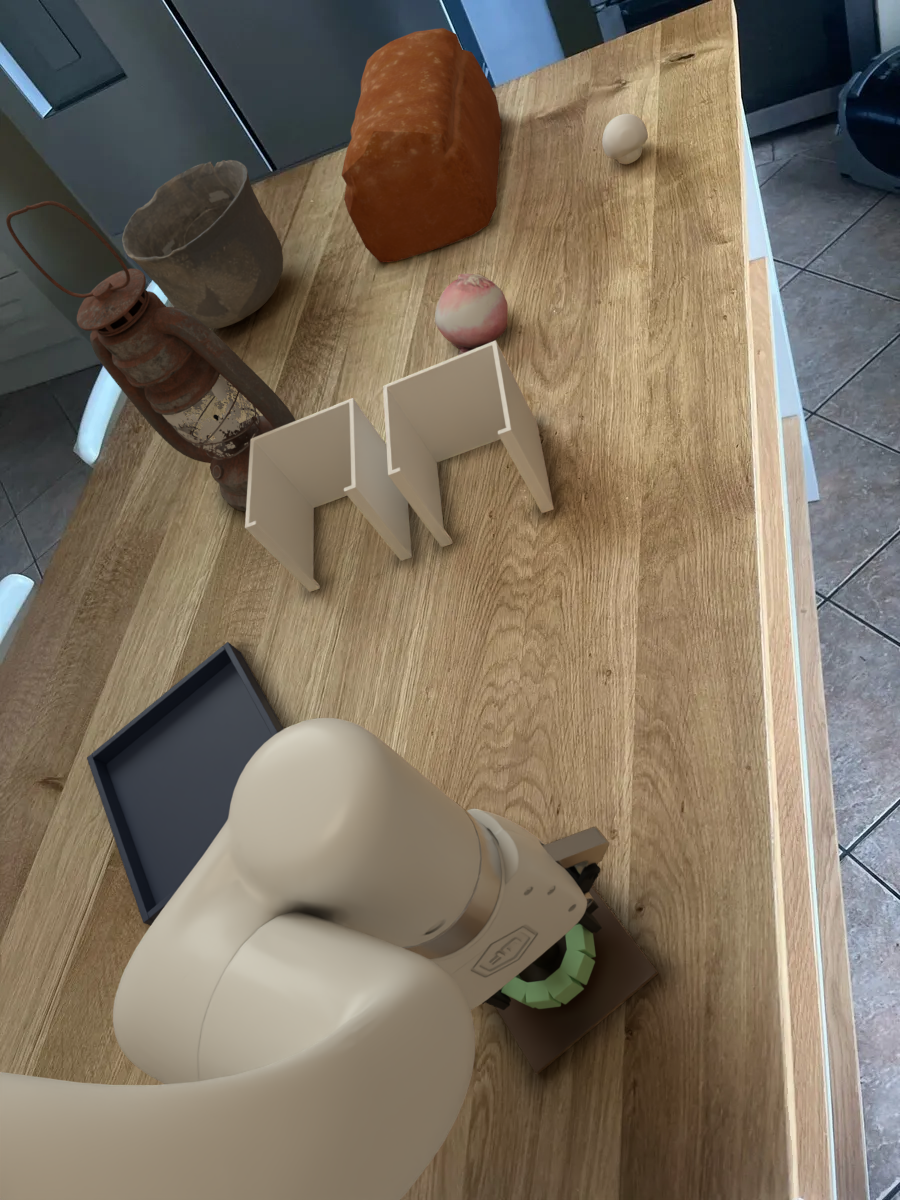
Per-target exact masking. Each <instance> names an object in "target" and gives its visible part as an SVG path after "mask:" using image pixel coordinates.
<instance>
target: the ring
mask: <svg viewBox="0 0 900 1200" xmlns="http://www.w3.org/2000/svg"><path fill="white" fill-rule="evenodd" d="M565 937H566V945H567V951H566V953H565V956H564V958H563V961H562V964H561V966H560V968H559V969H558V970H556V971H555V972H554V973H553V974H552V975H551V976H549V977H548V978H547V979H546V980H543V981H536V982H528V983H527V982H525V981H523V980H522V979H521V977H520V976H519V974H518V975H517V976H516V977H514V978H513V979H512V980H511V981H509V982H508V983H507V984H506V985H505V986H503V987H502V988H501V989H500V990H502V991H501V992H502V993H503V994H505V995H507V996H509V997H511V998H513V999H515V1000H517V1001H519V1002H521V1003H523V1004H525V1005H528V1006H530V1007H532V1008H534V1007H536V1008H538V1009H544V1008H552V1007H560V1006H561V1003H563V1004H567V1003H568V1002H569V1001H570V1000H571V999H573V998H574V997H575V996H576V995H577V994H579V993H580V992H581V991H582V990H583V989H584V988H583V987H582V985H581V984H580V983H582V984H584V985H586V984H587V982H588V980H589V977H590V974H591V972H592V969H593V966H594V964H595V961H594V960H593V959H591V958H593V957H596V954H595V946H594V939H593V933H591V932H590V931H588V930H587V929H586V928H584V927H583V926H582V925H581V924H579V923H577V924H576V925H575V926H574V927H573V928H572V929H571V930H570V931H569V932H567V933H566V934H565Z"/></svg>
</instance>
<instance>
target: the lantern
mask: <svg viewBox="0 0 900 1200" xmlns="http://www.w3.org/2000/svg"><path fill="white" fill-rule="evenodd" d="M46 206H55V207H56V208H57V207H58V208H60V209H62V210H64V211H65V212H67V213H68V214H70V215H71V216H73V217H74V218H75V219H77V220H78V221H79V222H80V223H81V224H82V225H84V226H85V227H86V228H87V229H88V230H89V231H90V232H91V233H92V234H93V235H94V236H95V237H96V238H97V239H98V240H99V241H100V242H101V243H102V244H103V245H104V247H106V248H107V249H108V251H109V252H110V253H111V254H112V255H113V257H114V258H115V259H116V261H117V262H118V263H119V265H120V266H121V267H122V269H123V270H120V271H117V272H115V273H113V274H111V275H110V276H108V277H106V278H104V280H102V281H100V282H99V283H98V284H97V285H96V286H94V288H93V289H92V290H91V291H90V292H88V293H77V292H73V291H71V290H69V289H67V288H65V287H63V285H61V284H59V283H58V281H56V280H55V279H54V278H53V277H52V276H50V274H49V273H47V271H45V269H44V268H42V266H41V265H40V264H39V263H38V261H36V259H34V257H33V256H32V255H31V254H30V253H29V251H28V250H27V249H26V248H25V246H24V245H23V243H22V242H21V241H20V239H19V237H18V236H17V234H16V233H15V231H14V229H13V227H12V223H11V221H12V220H11V219H12V218H13V217H15V216H18V215H21V214H24V213H27V212H28V211H29V210H36V209H40V208H42V207H46ZM5 221H6V222H5V223H6V226H7V229H8V231H9V233H10V235H11V237H12V238H13V240H14V241H15V243H16V244H17V245H18V247H19V248H20V249H21V251H22V252H23V254H24V255H25V256H26V257H27V258H28V260H29V261H30V262H31V263H32V265H34V266H35V268H36V269H37V270H38V271H39V272H40V273H41V274H42V275H43V276H44V277H45V278H46V279H47V280H48V281H49V282H50V283H51V284H53V285H54V286H55V287H56V288H57V289H59V290H60V291H62V292H64V293H66V294H67V295H69V296H72V297H74V298H80V299H83V300H82V302H81V304H80V306H79V308H78V311H77V314H76V323H77V325H78V327H79V328H80V329H82V330H84V331H87V332H90V335H89V342H90V344H91V347H92V351H93V352H94V354H95V356H96V358H97V360H98V361H99V362H100V364H101V365H102V366H103V368H104V369H105V371H106V372H107V373H108V375H109V376H110V377H111V378H112V380H113V381H114V382H115V383H116V384H117V386H118V387H119V388H120V390H121V391H122V392H123V393H124V394H125V396H126V397H127V398H128V400H129V401H130V402H131V403H132V405H133V406H134V407H135V408H136V410H137V411H138V412H139V414H141V415H142V417H143V419H145V420H146V422H147V423H148V424H149V425H150V427H152V428H153V429H154V431H155V432H156V433H157V434H158V435H159V436H160V437H161V438H162V439H163V440H164V442H166V443H167V444H168V445H170V447H172V448H173V449H174V450H175V451H177V452H179V453H180V454H181V455H183V456H185V457H187V458H189V459H191V460H193V461H198V462H201V463H205V464H206V463H207V464H210V466H209V469H210V474H211V476H212V479H214V481H216V483H217V484H218V485H219V492H220V494H221V497H222V498H223V500H225V502H227V504H228V505H229V506H230V507H231V508H233V509H235V510H236V511H239V512H240V511H241V512H246V503H247V487H248V472H249V456H250V440H251V439H252V438H254V437H257V436H259V435H262V434H264V433H267V432H269V431H272V430H274V429H277V428H279V427H281V426H284V425H286V424H289V423H291V422H294V421H296V418H295V416H294V415H293V413H292V412H291V410H290V408H289V407H288V406H287V404H285V402H284V401H283V400H282V399H281V397H279V396H278V394H277V393H276V392H275V391H274V390H273V389H272V388H271V386H269V385H268V384H267V383H266V382H265V381H264V380H263V379H262V378H261V377H260V376H259V375H258V374H257V373H256V372H255V371H254V370H253V369H252V368H251V366H249V365H248V364H247V363H246V362H245V361H244V360H243V359H242V358H241V357H240V356H239V355H238V354H237V352H235V351H234V350H233V349H232V348H230V346H229V345H228V344H226V342H224V341H223V339H221V337H219V336H218V335H217V334H216V333H215V332H214V331H213V330H212V329H211V328H208V327H207V326H206V325H205V324H203V323H202V322H201V321H200V320H198V319H197V318H196V317H194V316H193V315H191V314H190V313H188V312H186V311H184V310H182V309H179V308H175V307H174V306H167V305H166V304H165V303H164V302H163V300H161V298H160V297H159V296H158V295H157V294H156V293H155V292H153V291H150V290H147V289H145V288H146V284H147V278H146V275H145V274H144V273H145V272H143V271H141V270H140V269H137V268H128V267H127V265H126V264H125V262H124V261H123V259H122V258H121V257H120V255H119V254H118V252H117V251H116V250H115V249H114V248H113V247H112V246H111V245H110V244H109V242H107V240H106V239H105V238H104V237H103V236H102V235H101V234H100V233H99V231H97V230H96V229H95V227H93V226H92V225H91V224H90V223H88V222H87V221H86V220H85V219H84V218H83V217H82V216H81V215H79V214H78V213H77V212H75V211H74V210H73V209H71V208H69V206H67V205H65V204H63V203H60V202H58V201H55V200H45V201H41V202H38V203H35V204H32V205H31V204H30V205H26V206H24V207H22V208H19V209H17V210H14V211H11V212H10V213H8V214H7V216H6V220H5ZM231 387H232V388H231ZM234 389H235V390H234ZM228 396H229V397H228ZM206 397H208V398H209V399H210V400H209V402H208V399H205V398H206ZM215 398H216V399H215ZM214 399H215V401H216V402H214V406H215V407H217V410H223V409H225V411H224V412H221V416H220V414H216V413H215V414H213V415H212V417H213V418H211V417H208V418H206V419H205V418H203V419H202V417H203V415H204V413H205V412H206V411H207V409H208V408H209V406H210V405H211V403H212V402H213V401H214ZM224 400H226V401H224ZM238 400H239V401H240V402H239V401H238ZM227 401H228V402H227ZM204 402H205V403H204ZM207 402H208V403H207ZM206 403H207V404H206ZM225 404H226V405H225ZM202 405H204V406H203V407H202ZM192 407H193V408H192ZM224 407H225V408H224ZM203 408H204V409H203ZM193 409H194V411H192V410H193ZM200 411H201V413H200ZM189 412H190V413H191V414H190V413H189ZM243 413H244V414H245V420H242V421H239V420H240V419H242V417H243V416H244V414H243ZM259 413H260V414H261V415H260V414H259ZM197 415H199V417H198V418H197ZM237 419H238V420H237ZM203 420H204V421H203ZM199 424H200V425H199ZM198 426H199V427H200V428H199V427H198ZM212 437H214V438H213V439H211V438H212Z"/></svg>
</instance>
